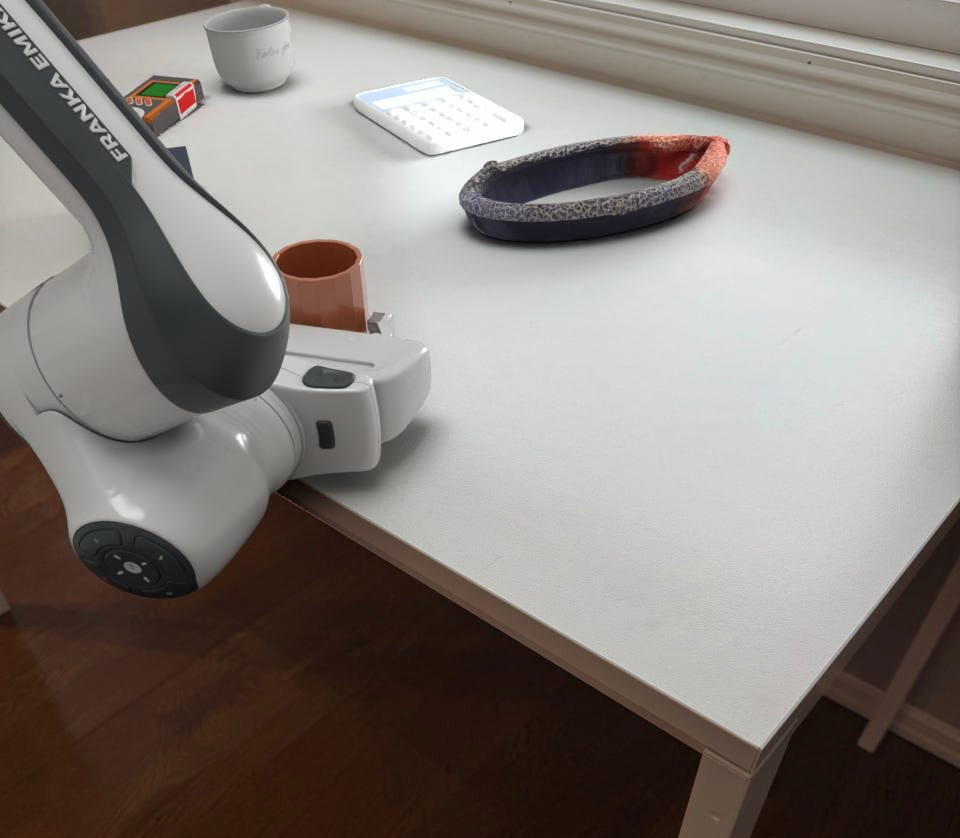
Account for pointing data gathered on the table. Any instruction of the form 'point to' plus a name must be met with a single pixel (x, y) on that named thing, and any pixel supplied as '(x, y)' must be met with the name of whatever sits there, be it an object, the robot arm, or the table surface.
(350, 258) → the terracotta cup
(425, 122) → the calculator
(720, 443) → the table surface
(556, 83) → the table surface
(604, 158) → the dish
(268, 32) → the teacup
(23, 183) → the table surface
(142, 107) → the electronic device
